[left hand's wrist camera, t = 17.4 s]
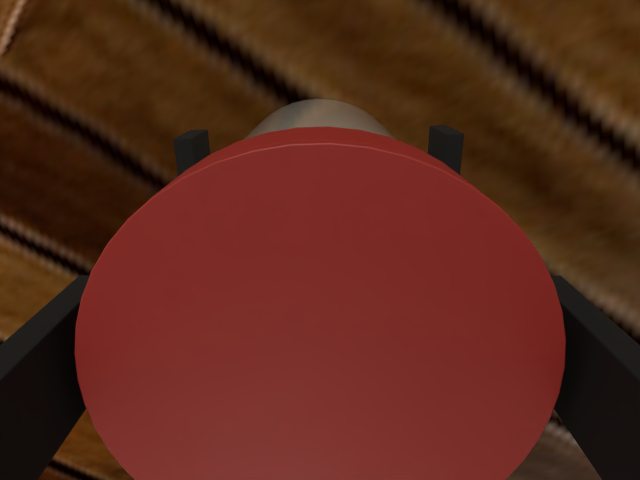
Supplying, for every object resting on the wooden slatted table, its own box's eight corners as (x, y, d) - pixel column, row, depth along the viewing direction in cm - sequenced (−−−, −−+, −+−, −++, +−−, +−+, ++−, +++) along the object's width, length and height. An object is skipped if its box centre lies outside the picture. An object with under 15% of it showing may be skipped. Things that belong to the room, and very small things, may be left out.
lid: (168, 487, 15) (141, 562, 13) (66, 149, 11) (-1, 172, 8) (509, 462, 14) (544, 536, 12) (536, 103, 10) (597, 113, 8)
